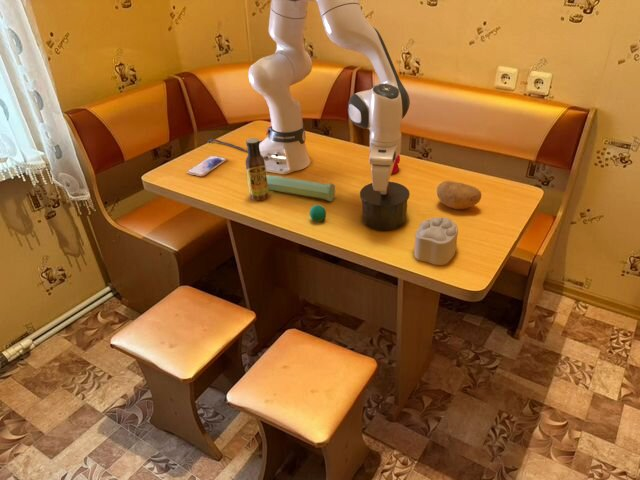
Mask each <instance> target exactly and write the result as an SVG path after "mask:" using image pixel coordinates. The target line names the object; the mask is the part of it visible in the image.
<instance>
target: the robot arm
mask: <svg viewBox="0 0 640 480" xmlns="http://www.w3.org/2000/svg"><path fill="white" fill-rule="evenodd" d="M310 2H316V4H317V6H318V11H319V15H320V18H321V22H322V25H323V29H324V32H325V34H326V36H327V37H328V39H329V40H330V41H331V42H332V43H333V44H334V45H335V46H337V47H339V48H342V49H345V50H349V51H354V52H357V53H359V54H362V55H363V56H365V57H366V58H367V59H368V60H369V62H370V64H371V65H372V67H373V70H374V72H375V75H376V77H377V79H378V82H379V84H376V85H374V86H373V87H372V88H371V89H366V90H362V91H358V92H356V93H353V94H352V95H351V96H350V97H349V100H348V104H347V116H348V119H349V121H350V122H351V123H352V124H353V125H354V126H356V127H358V128H360V129H363V130H369V155H368V156H369V158H368V163H369V165H371V169H370V170H371V183H372V184H373V189H374V190H375V191H380V193H381V194H386V193H387V186H388V183H389V182H390V179H391V176H392V174H391V173H392V170H393V166H394V163H395V159H396V158H397V156H398V155H400V154H401V153H402V132H401V131H402V130H401V126H402V123H403V119H404V118H405V117H406V115H407V113H408V111H409V109H410V105H411V100H410V95H409V93H408V91H407V89H406V87H405V86H404V84H403V82H402V81H401V80H400V77H399V75H398V72H397V70H396V67H395V65H394V63H393V61H392V58H391V56H390V53H389V51H388V48H387V47H386V44H385V42H384V40H383V38H382V35H381V33H380V32H379V31H378V29H377V28H375V27H374V26H372V25H371V24H370V22H369V21H368V19H367V18H366V16H365V15H364V12H363V10H362V7H361V4H360V0H271V1H270V11H269V20H268V34H269V36H270V38H271V40H273V41H274V42H275V43H276V49H275V52H274V53H272V54H269V55H267V56H264V57H261V58H259V59H257V61H255V62H254V63H253V64H251V65H250V66H249V69H248V73H247V76H248V81H249V84H250V86H251V87H252V89H253V90H254V91H255V92H256V93H258V94H260V95H261V96H262V98H264V101H265V102H266V104H267V107H268V111H269V117H270V123H269V126H268V127H267V130H266V131H265V135H266V137H265V138H264V139H262V140H259V143H260V144H259V149H260V154H261V155H262V157H263V158H264V161H265V166H266V173H273V174H279V175H289V174H290V173H293V172H297V171H298V172H299V171H301V170H303V169H306V168H307V167H309V166H310V165H311V162H312V161H311V158H310V156H309V152H308V149H307V144H306V139H307V137H306V136H307V135H306V130H305V124H304V122H303V120H304V119H303V111H302V110H303V109H302V104H301V102H300V101H299V100H298V99H296V98H295V97H293V96H292V93H291V91H290V90H291V89H290V87H291V86H293V85H296V84H297V83H300V82H302V81H303V80H305V79H306V78H307V77H308V76H310V74H311V73H312V71H313V61H312V58H311V56H310V54H309V52H307V50H306V48H305V30H306V23H307V17H308V10H309V3H310ZM211 142H216V143H219V144H221V145H225V146H229V147H231V148H235V149H238V150H241V151H242V152H245V153H247V154H248V150H245V149H244V148H242V147H241V146H237V145H235V144H232V143H229V142H225V141H221V140H218V139H215V138H211V139H208V141H207V143H208V144H209V143H211Z"/></svg>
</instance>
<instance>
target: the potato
mask: <svg viewBox="0 0 640 480" xmlns="http://www.w3.org/2000/svg"><path fill="white" fill-rule="evenodd" d="M436 187H437V188H436V195H437V197H438V199H439V201H440V202H441V203H442V204H444V205H445V206H447V207H449V208H451V209H453V210H465V209H470V208H472V207H474V206H475V205H477V204H478V203H480V201H481V199H482V192H481V190H479V188H477V187H476V186H473V185H469V184H466V183H462V182H456V181H451V180H444V181H442V182H440V183H439V184H438V186H436Z"/></svg>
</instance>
